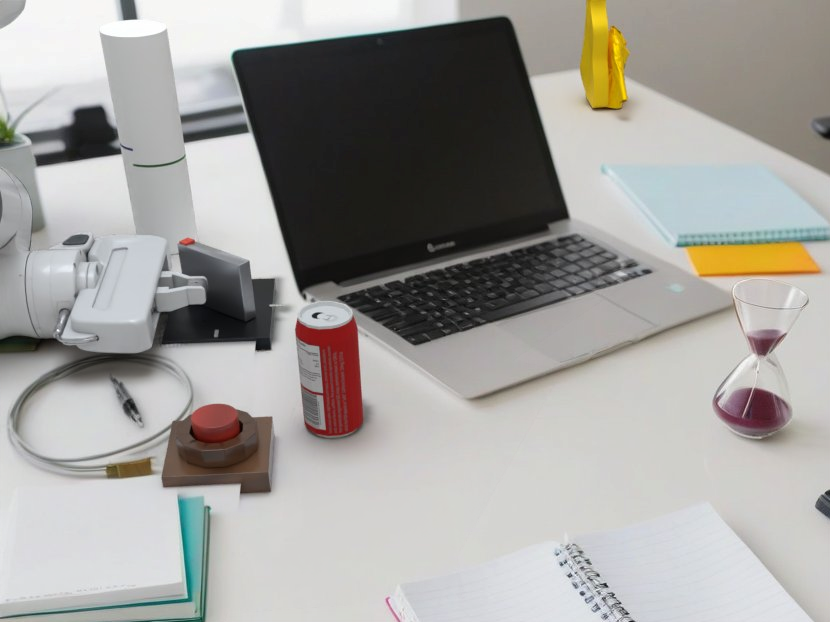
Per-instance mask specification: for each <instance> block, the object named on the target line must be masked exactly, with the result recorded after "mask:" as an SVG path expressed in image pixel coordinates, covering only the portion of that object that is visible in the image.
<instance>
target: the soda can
mask: <svg viewBox="0 0 830 622" xmlns="http://www.w3.org/2000/svg"><path fill="white" fill-rule="evenodd" d="M353 312H354V311H353V308H351V307H349V306H348V305H347V304H345V303H341V302H339V301H334V300H321V301H315V302H310V303H308V304H305V305H304V306H302V307H301V308H300V309H299V310H298V311H297V314H296V315H297V318H296V323H295V328H294V333H295V344H296V353H297V362H298V372H299V374H298V375H299V384H300V393H301V403H302V414H303V423H304V426H305V427H306V429H307V430H309V431H310V432H312V433H313V434H315V435H316V436H317V437H322V438H326V439H337V438H342V437H346V436H349V435H351V434H353V433H354V432H356V431H357V430H358V429H359V428H360V427H361V426H362V425H363V422H364V409H363V408H364V407H363V392H362V377H361V363H360V362H361V360H360V359H361V358H360V346H359V343H360V342H359V328H358V324H357V321H356V319H355V316H354V313H353Z"/></svg>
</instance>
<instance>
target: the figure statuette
mask: <svg viewBox="0 0 830 622" xmlns="http://www.w3.org/2000/svg"><path fill="white" fill-rule="evenodd" d="M583 32H584V33H583V42H582V48H581V55H580V62H579V73H580V78H581V83H582V85H583V90H584V93H585V98H586V99H587V101H588V103H589V105H590V107H591V108H592V109H596V108H597V109H598V108H610V109H616V110H617V109H622V108H623V103H626V102H628V101H629V99H628V94H627V93H628V91H627V88H626V87H627V86H626V78H625V68H626V63H627V61H628V58H629V57H630V56H629V55H630V53H631V51H630V50H629V49H628V48H627V45H628V44H627V43H628V41H627V40H626V39H625V38H624V34H622V31H621V30H620V29H618V27H616V26H615V25H611V26H609V19H608V12H607V0H586V1H585V19H584V31H583Z"/></svg>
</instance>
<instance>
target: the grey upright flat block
mask: <svg viewBox="0 0 830 622" xmlns="http://www.w3.org/2000/svg"><path fill="white" fill-rule="evenodd" d="M177 245H178V252H179V253H178V257H179V265H180V270H181V273H182V274H185V275H188V276H204V277H206V278H207V282H208V292H207V298H206V302H205V303H204V304H200V305H203V306H206V307H208V308H211V309H213V310H216V311H219V312H221V313H224V314H226V315H229V316H232V317H234V318H237V319H240V320H242V321H245V322H247V321H249V320H250V319H252V318H254V317H256V311H255V302H254V294H253V286H252V279H253V278H252V272H251V271H252V269H251V263H250V262H251V261H250V260H249V259H247V258H244V257H241V256H238V255H235V254H232V253H229V252H227V251H224V250H222V249H218V248H215V247H213V246H210V245H207V244H204V243H201V242H199V241H198V242H196V241H195V240H194V239H191V238H186V239H183V240H181V241H179V243H178V244H177Z"/></svg>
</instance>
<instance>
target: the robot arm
mask: <svg viewBox="0 0 830 622" xmlns="http://www.w3.org/2000/svg"><path fill="white" fill-rule="evenodd" d="M26 3H27V0H0V30H2V29H3V28H5V27H7V26H9V25H10V24H12V23H14V21H15V20H16V19H18V18H19V16H21V14H22V13H23V11H24V10H25V8H26ZM33 209H34V208H33V203H32V199H31V196H30V193H29V192H28V189H27V188H26V186H25V185H24V184H23V181H21V180H20V179H19V177H17V176H16V175H15V174H14V173H13V172H11V170H8V169H6V168H5V167H3V166H2V165H0V341H1V340H5V339H7V338H10V337H16V336H22V337H29V338H33V339H40V340H41V339H56V340H57V341H58V342H60V343H62V344H63V345H65V346H76V347H77V348H79V350H82V351H85V352H91V353H94V352H95V353H107V354H138V353H139V354H140V353H143V352H146V351H148V350H150V349H151V348H152V347H153V343H154V339H155V335H156V331H157V327H158V324H159V321H160V320H159V319H160V316H161V313H162V312H169V311H173V310H176V309H179V308H182V307H185V306H187V305H190V304H204V303H205V302H206V298H207V292H208V282H207V278H206V277H204V276H188V275H185V274H182V272H178V271H175V270H173V260H172V254H171V252H170V247H169V242H168V240H166V239H164V238H161V237H158V236H153V235H136V234H107V235H102V236H98V237H97V238H96V239H95V236H94V233H93V232H92V231H91V232H90V231H78V232H74V233H72V234H71V235H69V236H68V237H67V238H66V239H65V240H63V241H62V242H60V243H58V244H56V245H53V246H50V247H49V248H48V249H46V250H45V249H44V250H42V249H41V250H40V249H39V250H31V245H32V237H33V223H34V222H33V221H34V219H33V218H34V211H33Z"/></svg>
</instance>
